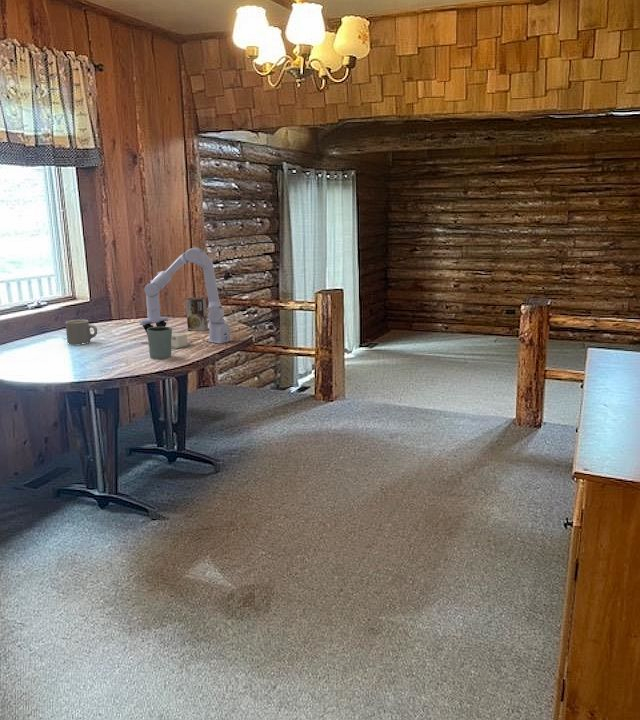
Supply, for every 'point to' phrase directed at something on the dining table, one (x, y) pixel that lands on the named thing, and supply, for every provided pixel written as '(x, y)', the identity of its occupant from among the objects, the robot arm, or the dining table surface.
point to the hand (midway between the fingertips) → (155, 338)
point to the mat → (171, 346)
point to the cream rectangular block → (178, 339)
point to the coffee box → (196, 313)
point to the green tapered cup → (159, 342)
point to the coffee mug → (79, 331)
